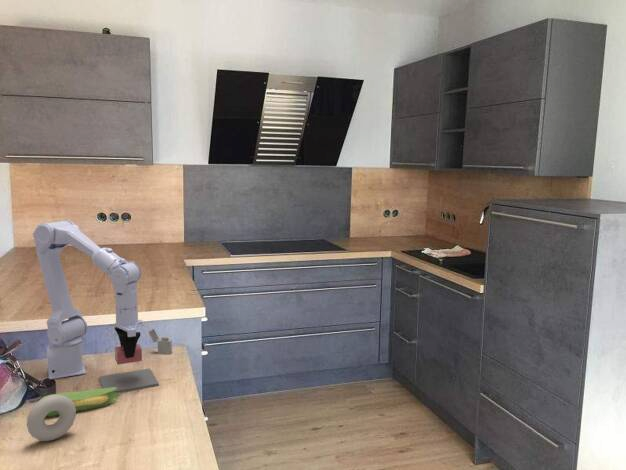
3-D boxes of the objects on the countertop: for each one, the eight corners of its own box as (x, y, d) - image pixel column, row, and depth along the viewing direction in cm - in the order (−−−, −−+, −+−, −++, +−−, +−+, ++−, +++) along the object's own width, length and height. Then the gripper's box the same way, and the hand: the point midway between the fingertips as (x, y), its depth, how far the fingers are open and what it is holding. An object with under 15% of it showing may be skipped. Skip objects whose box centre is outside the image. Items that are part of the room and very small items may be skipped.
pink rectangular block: (141, 360, 143) (141, 348, 142) (117, 364, 139) (117, 352, 139) (138, 355, 146) (138, 343, 146) (115, 359, 143) (114, 347, 143)
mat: (104, 395, 135) (104, 393, 135) (99, 378, 145) (99, 376, 145) (158, 385, 142) (158, 383, 142) (149, 370, 152) (149, 368, 152)
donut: (73, 428, 118) (71, 387, 117) (79, 434, 115) (77, 392, 114) (25, 444, 111) (23, 400, 110) (30, 450, 108) (28, 405, 107)
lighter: (171, 352, 167) (171, 328, 166) (170, 354, 165) (170, 330, 164) (150, 351, 167) (149, 328, 166) (148, 353, 166) (148, 329, 165)
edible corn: (34, 396, 125) (34, 398, 121) (121, 383, 134) (123, 385, 130) (34, 418, 124) (34, 420, 120) (121, 404, 133) (124, 406, 129)
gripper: (147, 311, 137) (148, 360, 138) (136, 299, 149) (137, 344, 151) (119, 314, 133) (120, 365, 135) (110, 301, 146) (112, 347, 147)
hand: (128, 354), depth 143 cm, fingers closed on pink rectangular block, 4 cm apart
